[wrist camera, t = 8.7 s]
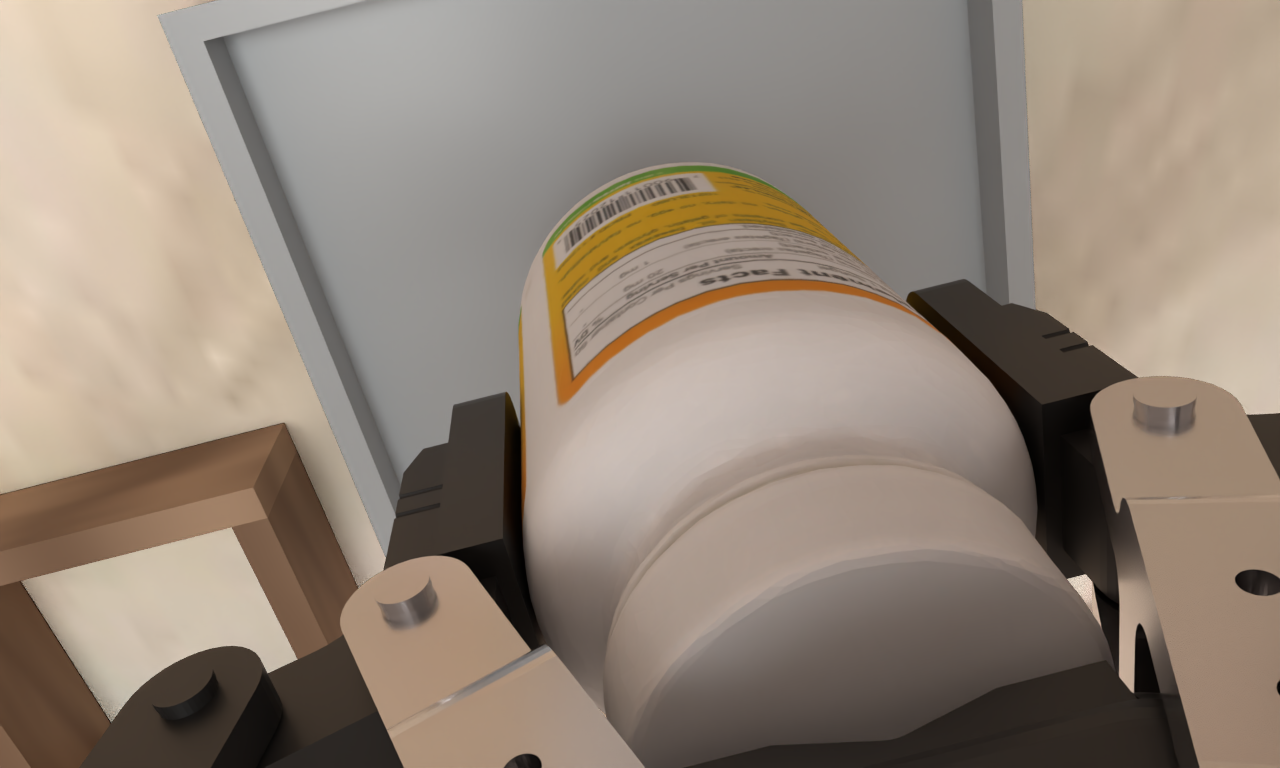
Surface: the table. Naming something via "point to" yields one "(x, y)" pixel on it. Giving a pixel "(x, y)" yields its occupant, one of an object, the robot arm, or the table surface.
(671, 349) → the supplement bottle
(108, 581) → the table surface
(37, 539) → the holder
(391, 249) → the tray
